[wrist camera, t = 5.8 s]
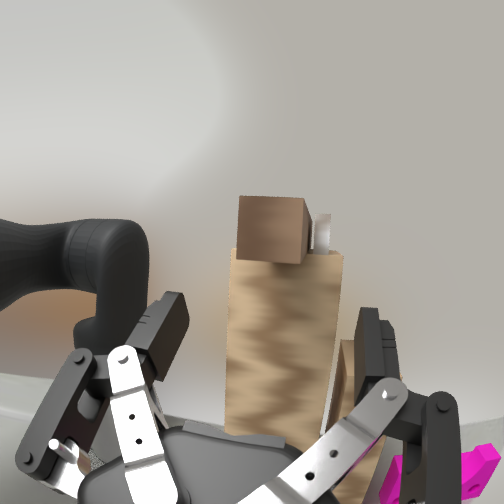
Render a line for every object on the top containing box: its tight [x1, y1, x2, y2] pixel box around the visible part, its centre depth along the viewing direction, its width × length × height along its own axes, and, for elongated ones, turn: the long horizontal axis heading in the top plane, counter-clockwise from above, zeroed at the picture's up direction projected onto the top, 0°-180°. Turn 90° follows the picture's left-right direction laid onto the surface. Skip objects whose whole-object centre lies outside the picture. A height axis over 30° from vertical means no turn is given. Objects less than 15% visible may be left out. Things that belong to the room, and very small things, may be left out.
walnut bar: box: [236, 196, 312, 264], centre depth 27 cm, size 3×24×3 cm, turn 168°
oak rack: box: [224, 213, 402, 504], centre depth 30 cm, size 16×10×34 cm, turn 78°
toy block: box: [379, 443, 501, 504], centre depth 27 cm, size 15×6×8 cm, turn 79°
